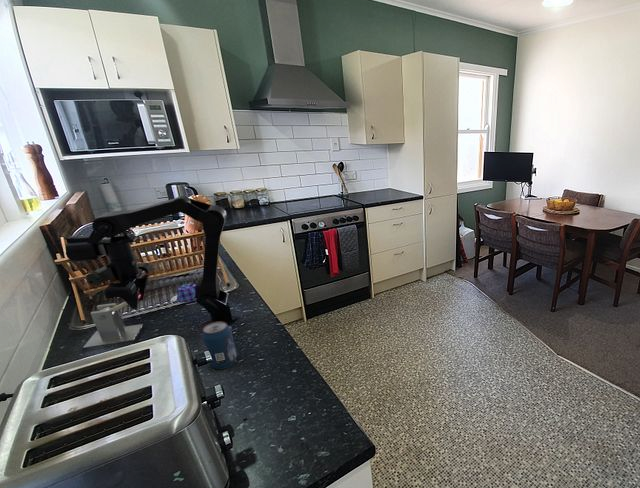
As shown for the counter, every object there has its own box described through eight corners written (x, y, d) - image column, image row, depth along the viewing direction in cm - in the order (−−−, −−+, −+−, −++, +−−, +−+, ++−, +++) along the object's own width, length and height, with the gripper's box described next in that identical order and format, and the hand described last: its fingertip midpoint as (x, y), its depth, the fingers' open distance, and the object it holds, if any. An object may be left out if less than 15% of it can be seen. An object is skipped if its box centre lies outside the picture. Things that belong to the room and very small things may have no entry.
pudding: (204, 288, 137) (201, 276, 135) (212, 300, 129) (209, 287, 127) (168, 297, 130) (164, 285, 128) (174, 310, 122) (170, 297, 120)
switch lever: (144, 296, 107) (138, 290, 106) (138, 304, 103) (132, 298, 102) (107, 314, 105) (101, 308, 104) (100, 322, 101) (93, 316, 100)
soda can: (211, 357, 100) (201, 322, 95) (238, 352, 102) (230, 318, 97) (208, 373, 94) (198, 336, 89) (237, 367, 97) (228, 331, 92)
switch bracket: (144, 327, 112) (133, 297, 108) (134, 342, 105) (122, 312, 100) (97, 333, 108) (84, 303, 104) (84, 350, 101) (69, 319, 96)
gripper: (99, 248, 104) (117, 294, 110) (68, 273, 88) (90, 325, 94) (144, 245, 107) (158, 289, 114) (122, 268, 92) (140, 318, 98)
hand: (138, 304), depth 105 cm, fingers closed on switch lever, 5 cm apart
